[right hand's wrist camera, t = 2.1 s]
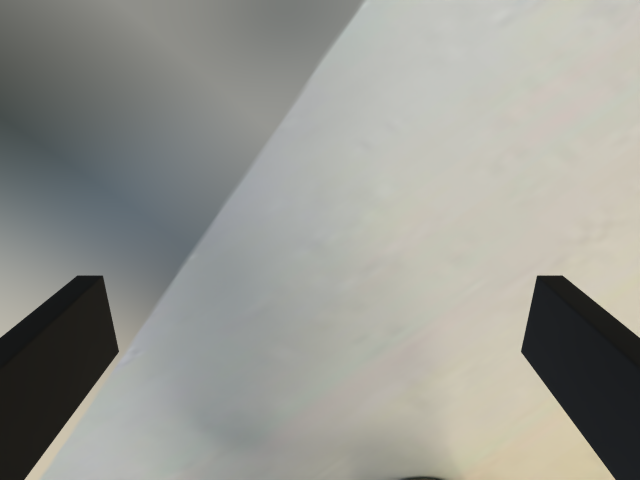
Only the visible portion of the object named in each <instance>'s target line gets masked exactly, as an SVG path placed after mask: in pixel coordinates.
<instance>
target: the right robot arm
mask: <svg viewBox="0 0 640 480" xmlns="http://www.w3.org/2000/svg"><path fill="white" fill-rule="evenodd" d="M118 352H119V350H118V345H117V340H116V336H115V331H114V326H113V321H112V317H111V312H110V307H109V303H108V298H107V293H106V289H105V284H104V279H103V276H76V277H75V278H74V279H73V280H71V281H70V282H69V283H68V284H67V285H65V286H64V287H63V288H62V289H60V290H59V291H58V292H57V293H55V294H54V295H53V296H52V297H50V298H49V299H48V300H47V301H45V302H44V303H43V304H42V305H41V306H39V307H38V308H37V309H36V310H34V311H33V312H32V313H31V314H29V315H28V316H27V317H26V318H24V319H23V320H22V321H21V322H20V323H18V324H17V325H16V326H15V327H13V328H12V329H11V330H10V331H8V332H7V333H6V334H5V335H3V336H2V337H1V338H0V480H24V479H25V478H26V477H27V475H28V474H29V473H30V471H31V470H32V469H33V467H34V466H35V465H36V463H37V462H38V460H39V459H40V458H41V456H42V455H43V454H44V452H45V451H46V450H47V448H48V447H49V446H50V444H51V443H52V442H53V440H54V439H55V437H56V436H57V435H58V433H59V432H60V431H61V429H62V428H63V427H64V425H65V424H66V423H67V421H68V420H69V418H70V417H71V416H72V414H73V413H74V412H75V410H76V409H77V408H78V406H79V405H80V404H81V402H82V401H83V400H84V398H85V397H86V396H87V394H88V393H89V391H90V390H91V389H92V387H93V386H94V385H95V383H96V382H97V381H98V379H99V378H100V377H101V375H102V374H103V373H104V371H105V370H106V368H107V367H108V366H109V364H110V363H111V362H112V360H113V359H114V358H115V356H116V355H117V354H118ZM521 352H522V354H523V355H524V356H525V358H526V359H527V360H528V362H529V363H530V364H531V366H532V367H533V369H534V370H535V371H536V373H537V374H538V375H539V377H540V378H541V379H542V381H543V382H544V383H545V385H546V386H547V387H548V389H549V390H550V392H551V393H552V394H553V396H554V397H555V398H556V400H557V401H558V402H559V404H560V405H561V406H562V408H563V409H564V410H565V412H566V413H567V415H568V416H569V417H570V419H571V420H572V421H573V423H574V424H575V425H576V427H577V428H578V429H579V431H580V432H581V433H582V435H583V436H584V437H585V439H586V440H587V442H588V443H589V444H590V446H591V447H592V448H593V450H594V451H595V452H596V454H597V455H598V456H599V458H600V459H601V460H602V462H603V463H604V465H605V466H606V467H607V469H608V470H609V471H610V473H611V474H612V475H613V477H614V478H615V479H616V480H640V338H639V337H638V336H637V335H635V334H634V333H633V332H632V331H630V330H629V329H628V328H627V327H626V326H624V325H623V324H622V323H621V322H619V321H618V320H617V319H616V318H614V317H613V316H612V315H611V314H609V313H608V312H607V311H606V310H604V309H603V308H602V307H601V306H600V305H598V304H597V303H596V302H595V301H593V300H592V299H591V298H590V297H588V296H587V295H586V294H585V293H583V292H582V291H581V290H580V289H578V288H577V287H576V286H575V285H573V284H572V283H571V282H570V281H569V280H567V279H566V278H565V277H564V276H537V279H536V284H535V288H534V293H533V298H532V303H531V307H530V312H529V317H528V321H527V326H526V331H525V336H524V340H523V345H522V350H521ZM409 480H435V479H425V478H420V479H409Z"/></svg>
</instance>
